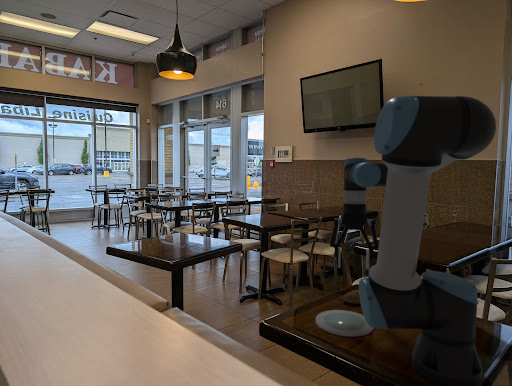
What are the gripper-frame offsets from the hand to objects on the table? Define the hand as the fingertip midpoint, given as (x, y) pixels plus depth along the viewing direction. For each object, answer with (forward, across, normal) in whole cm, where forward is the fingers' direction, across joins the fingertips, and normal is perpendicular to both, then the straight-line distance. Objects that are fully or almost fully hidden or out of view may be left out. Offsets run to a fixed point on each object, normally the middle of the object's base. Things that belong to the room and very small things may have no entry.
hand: (353, 267), depth 122 cm
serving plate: (+15, +3, +12) cm, 19 cm away
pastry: (+16, +1, -9) cm, 18 cm away
